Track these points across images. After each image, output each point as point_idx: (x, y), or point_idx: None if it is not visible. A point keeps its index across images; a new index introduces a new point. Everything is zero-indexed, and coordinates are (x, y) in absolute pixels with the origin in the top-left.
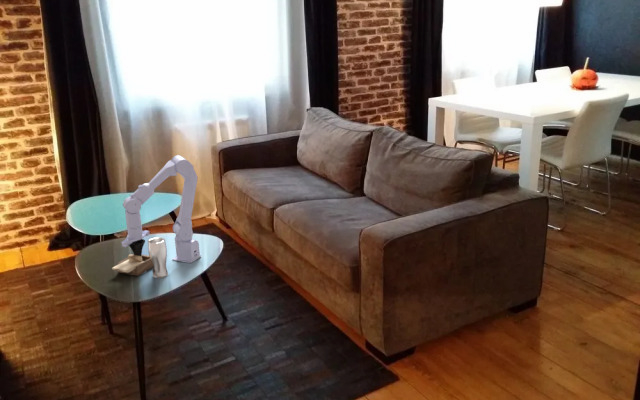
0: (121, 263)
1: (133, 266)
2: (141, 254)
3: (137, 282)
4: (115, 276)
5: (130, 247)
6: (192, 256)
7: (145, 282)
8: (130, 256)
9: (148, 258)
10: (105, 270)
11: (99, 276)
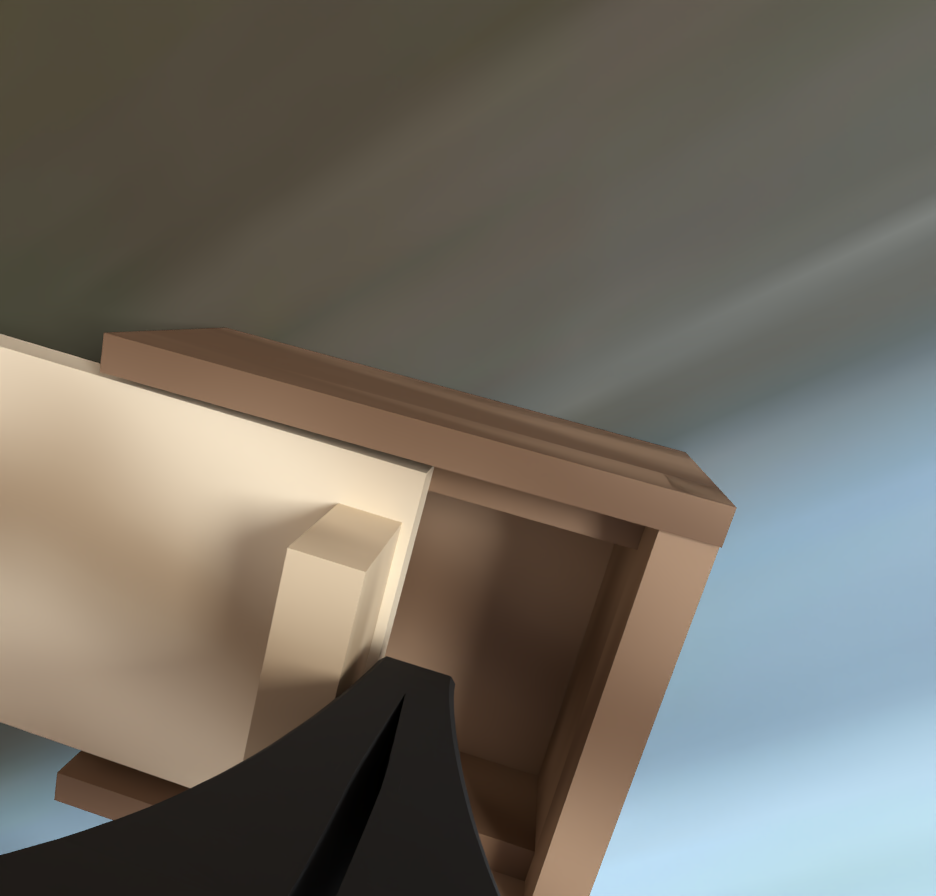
0: (146, 416)
1: (79, 716)
2: (671, 670)
3: (6, 743)
4: (82, 351)
5: (152, 811)
6: None
7: (33, 836)
8: (285, 600)
9: (550, 819)
10: (251, 19)
11: (13, 62)
